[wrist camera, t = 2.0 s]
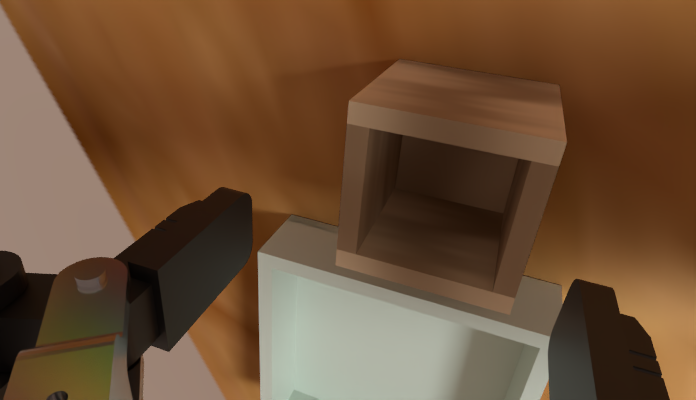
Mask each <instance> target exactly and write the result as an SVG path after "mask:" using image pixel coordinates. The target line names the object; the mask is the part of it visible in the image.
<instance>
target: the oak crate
mask: <svg viewBox="0 0 696 400" xmlns="http://www.w3.org/2000/svg"><path fill="white" fill-rule="evenodd" d="M566 144H567V138H566V130H565V123H564V115H563V108H562V100H561V93H560V85H557V84H551V83H545V82H539V81H533V80H526V79H520V78H514V77H508V76H502V75H496V74H489V73H483V72H477V71H471V70H465V69H458V68H452V67H446V66H440V65H434V64H428V63H421V62H415V61H409V60H403V59H399V60H398V61H396V62H395V63H394V64H393V65H392V66H390V67H389V68H388V69H387V70H385V71H384V72H383V73H382V74H381V75H379V76H378V77H377V78H376V79H375V80H373V81H372V82H371V83H370V84H368V85H367V86H366V87H365V88H364V89H362V90H361V91H360V92H359V93H358V94H356V95H355V96H354V97H353V98H351V99H350V100H349V104H348V116H347V128H346V140H345V153H344V165H343V177H342V189H341V202H340V214H339V226H338V238H337V250H336V263H335V265H336V266H340V267H343V268H347V269H350V270H354V271H357V272H361V273H364V274H368V275H371V276H375V277H378V278H382V279H385V280H389V281H392V282H396V283H399V284H403V285H406V286H410V287H413V288H417V289H420V290H424V291H427V292H431V293H434V294H438V295H441V296H445V297H448V298H452V299H455V300H459V301H462V302H466V303H469V304H473V305H476V306H480V307H483V308H487V309H490V310H494V311H497V312H501V313H504V314H508V315H510V312H511V309H512V306H513V303H514V300H515V297H516V294H517V291H518V288H519V285H520V282H521V279H522V276H523V273H524V270H525V267H526V264H527V261H528V258H529V255H530V252H531V249H532V246H533V243H534V240H535V237H536V234H537V231H538V228H539V225H540V222H541V219H542V216H543V213H544V210H545V207H546V204H547V201H548V198H549V195H550V192H551V189H552V186H553V183H554V180H555V177H556V174H557V171H558V168H559V165H560V162H561V159H562V156H563V153H564V150H565V147H566Z"/></svg>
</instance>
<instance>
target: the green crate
mask: <svg viewBox="0 0 696 400" xmlns="http://www.w3.org/2000/svg"><path fill="white" fill-rule="evenodd" d="M337 238H338V227H337V226H333V225H330V224H326V223H322V222H318V221H314V220H311V219H307V218H303V217H299V216H295V215H291V216H290V217H289V218H288V219H287V220H286V221H285V222H284V223H283V224H282V226H281V227H280V228H279V229H278V230H277V231H276V232H275V233H274V234H273V235H272V236H271V238H270V239H269V240H268V241H267V242H266V243H265V244H264V245H263V246H262V247H261V248H260V250H259V251H258V295H259V346H260V396H261V400H540V398H541V396H542V393H543V391H544V389H545V386H546V384H547V382H548V379H549V373H548V346H549V340H550V336H551V332H552V329H553V327H554V324H555V322H556V320H557V317H558V315H559V312H560V310H561V308H562V305H563V304H562V287H561V285H557V284H553V283H550V282H546V281H542V280H538V279H534V278H531V277H527V276H522V279H521V282H520V285H519V288H518V291H517V294H516V297H515V300H514V303H513V306H512V309H511V312H510V315H508V314H504V313H501V312H497V311H494V310H490V309H487V308H483V307H480V306H476V305H473V304H469V303H466V302H462V301H459V300H455V299H452V298H448V297H445V296H441V295H438V294H434V293H431V292H427V291H424V290H420V289H417V288H413V287H410V286H406V285H403V284H399V283H396V282H392V281H389V280H385V279H382V278H378V277H375V276H371V275H368V274H364V273H361V272H357V271H354V270H350V269H347V268H343V267H340V266H336V265H335V263H336V250H337Z"/></svg>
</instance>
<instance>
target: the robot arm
mask: <svg viewBox="0 0 696 400" xmlns="http://www.w3.org/2000/svg"><path fill="white" fill-rule="evenodd" d="M252 243H253V238H252V199H251V196H250V195H249V194H247V193H244V192H240V191H236V190H232V189H228V188H224V187H221V188H219V189H217V190H216V191H215V192H213V193H212V194H211V195H210V196H208V197H207V198H206V199H205V200H203V201H200V200H198V201H195V202H193V203H190V204H188V205H185V206H183V207H180V208H179V209H177V210H176V211H175V212H173V213H172V214H171V215H170V216H168V217H167V218H166V221H165V220H163V221H162V222H160V223H159V224H158V225H157V226H155V229H151V230H150V231H149V232H147V233H146V234H145V235H143V236H142V237H141V238H140V239H138V240H137V241H136V242H134V243H133V244H132V245H130V246H129V247H128V248H127V249H125V250H124V251H123V252H121V253H120V254H119V255H118V256H116V257H115V258H114V259H113V258H106V257H97V258H90V259H85V260H82V261H79V262H76V263H74V264H72V265H70V266H68V267H66V268H65V269H63V270H62V271H61V272H60V273H59V274H58V275H57V274H38V273H25V270H24V267H23V264H22V261H21V258H20V257H19V256H18V255H16V254H15V253H12V252H8V251H0V400H143V378H144V359H143V353H144V352H145V351H146V350H147V349H148V348H149V347H150V346H154V347H157V348H160V349H163V350H165V351H170V350H171V349H172V348H173V347H174V346H175V344H176V343H177V342H178V341H179V340H180V339H181V338H182V336H183V335H184V334H185V333H186V332H187V331H188V330H189V328H190V327H191V326H192V325H193V324H194V323H195V322H196V320H197V319H198V318H199V317H200V316H201V315H202V314H203V312H204V311H205V310H206V309H207V308H208V307H209V305H210V304H211V303H212V302H213V301H214V300H215V299H216V297H217V296H218V295H219V294H220V293H221V292H222V291H223V289H224V288H225V287H226V286H227V285H228V284H229V283H230V281H231V280H232V279H233V278H234V277H235V276H236V275H237V273H238V272H239V271H240V270H241V269H242V268H243V267H244V265H245V264H246V262H247V261H248V259H249V256H250V253H251V250H252ZM656 358H657V357H656V353H655V350H654V347H653V344H652V340H651V337H650V336H649V335H648V334H647V332H646V331H645V330H644V329H643V327H642V326H641V325H640V324H639V322H638V321H637V320H636V319H635V317H631V316H627V315H623V314H620V312H619V308H618V304H617V299H616V295H615V292H614V289H613V288H611V287H607V286H603V285H599V284H595V283H591V282H587V281H583V280H579V279H575V280H574V281H573V283H572V284H571V286H570V289H569V291H568V293H567V296H566V298H565V301H564V303H563V305H562V308H561V310H560V312H559V315H558V317H557V320H556V322H555V324H554V327H553V329H552V332H551V336H550V340H549V346H548V373H549V395H550V400H670V399H669V396H668V392H667V389H666V386H665V383H664V379H663V378H661V375H662V373H661V370H660V366H659V363H658V361H656Z"/></svg>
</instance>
